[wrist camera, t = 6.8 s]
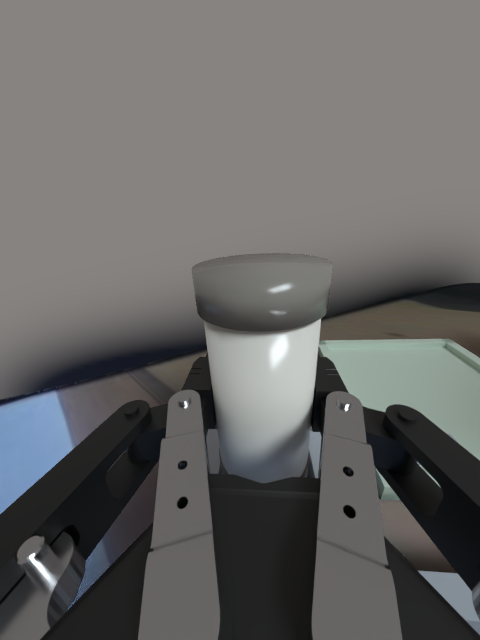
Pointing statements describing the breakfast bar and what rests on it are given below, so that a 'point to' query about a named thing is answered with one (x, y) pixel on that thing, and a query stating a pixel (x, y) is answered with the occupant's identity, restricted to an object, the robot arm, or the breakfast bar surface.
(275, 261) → the grey-capped white cylinder
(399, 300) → the breakfast bar surface
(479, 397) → the tray
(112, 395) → the breakfast bar surface
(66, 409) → the breakfast bar surface
